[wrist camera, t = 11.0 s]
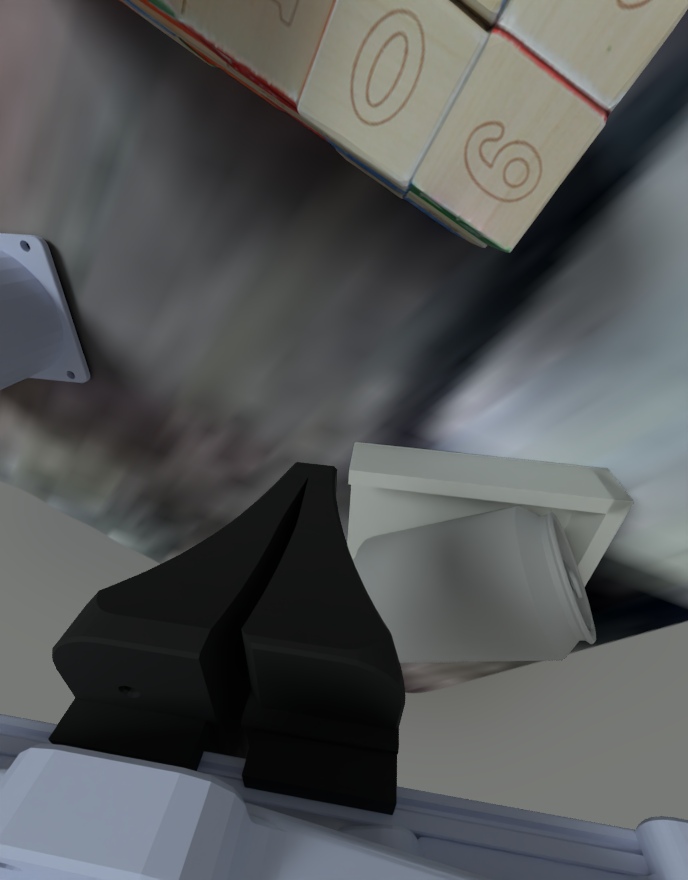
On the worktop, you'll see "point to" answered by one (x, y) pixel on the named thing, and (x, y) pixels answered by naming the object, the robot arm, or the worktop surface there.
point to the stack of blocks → (437, 88)
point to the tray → (481, 495)
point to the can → (478, 589)
